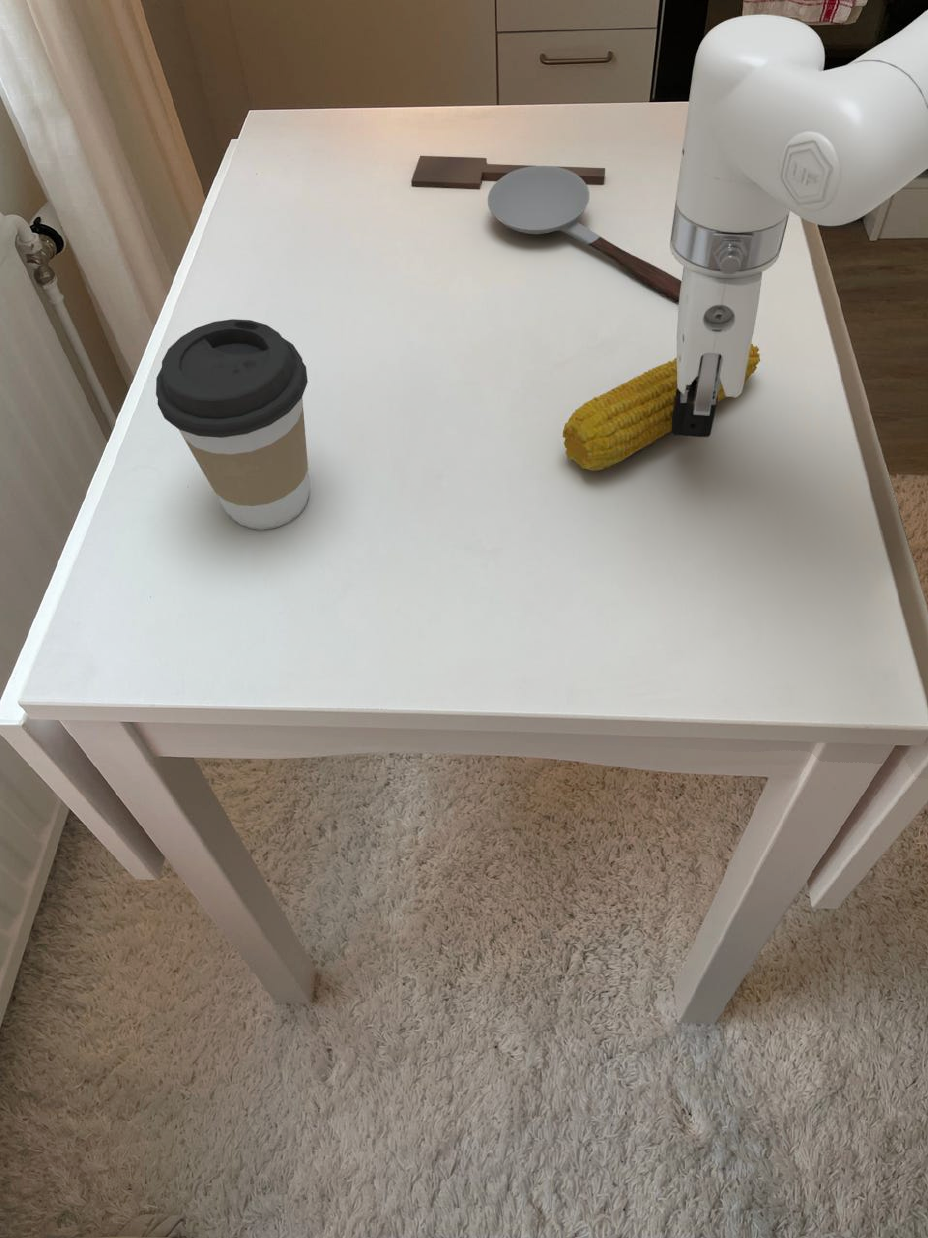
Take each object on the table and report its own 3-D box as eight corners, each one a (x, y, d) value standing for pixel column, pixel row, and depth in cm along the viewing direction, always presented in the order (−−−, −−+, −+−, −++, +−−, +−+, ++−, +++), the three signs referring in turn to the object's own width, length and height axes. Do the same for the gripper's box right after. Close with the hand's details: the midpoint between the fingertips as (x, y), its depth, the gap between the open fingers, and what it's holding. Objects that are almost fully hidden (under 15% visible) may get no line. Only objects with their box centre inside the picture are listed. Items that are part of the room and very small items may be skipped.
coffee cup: (353, 465, 84) (325, 321, 72) (302, 562, 77) (262, 422, 65) (236, 442, 86) (190, 299, 74) (178, 534, 80) (116, 394, 68)
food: (595, 493, 80) (600, 441, 76) (552, 457, 83) (553, 404, 78) (767, 385, 87) (781, 330, 82) (721, 355, 90) (733, 301, 85)
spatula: (606, 167, 111) (606, 158, 110) (602, 193, 108) (603, 184, 107) (420, 160, 114) (419, 152, 113) (411, 186, 110) (410, 177, 110)
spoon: (538, 177, 109) (538, 153, 106) (774, 310, 95) (780, 285, 92) (468, 224, 106) (466, 200, 103) (702, 369, 91) (706, 345, 89)
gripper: (790, 296, 60) (737, 497, 75) (779, 171, 69) (734, 374, 84) (669, 290, 61) (641, 490, 76) (674, 168, 70) (648, 369, 85)
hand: (690, 429), depth 80 cm, fingers closed
